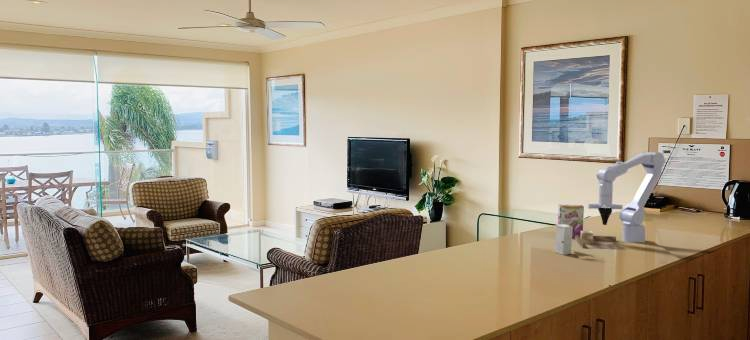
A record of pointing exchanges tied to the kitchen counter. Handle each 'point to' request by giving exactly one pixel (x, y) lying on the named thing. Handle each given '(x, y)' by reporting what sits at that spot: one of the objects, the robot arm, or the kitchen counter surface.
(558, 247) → the skincare box
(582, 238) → the block
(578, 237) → the board
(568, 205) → the candy bar box
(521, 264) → the kitchen counter surface
